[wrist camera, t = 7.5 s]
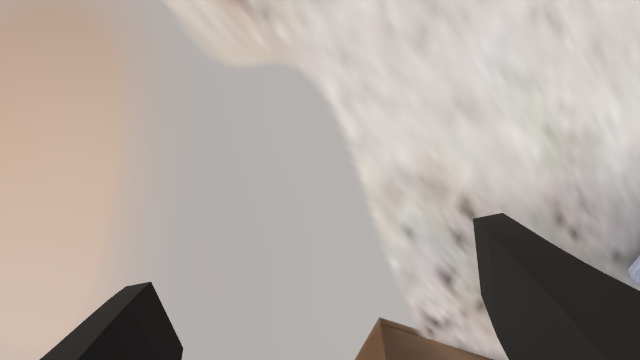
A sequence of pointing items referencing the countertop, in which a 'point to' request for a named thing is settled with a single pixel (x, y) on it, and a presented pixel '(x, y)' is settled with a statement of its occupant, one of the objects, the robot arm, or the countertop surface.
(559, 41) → the countertop surface
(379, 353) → the walnut box
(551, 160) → the countertop surface
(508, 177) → the countertop surface
